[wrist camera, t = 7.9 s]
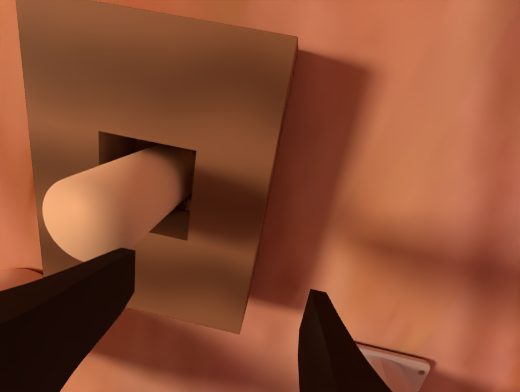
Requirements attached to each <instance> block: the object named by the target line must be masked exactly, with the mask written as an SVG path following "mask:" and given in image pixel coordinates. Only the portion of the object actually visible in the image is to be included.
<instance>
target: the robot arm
mask: <svg viewBox="0 0 520 392" xmlns="http://www.w3.org/2000/svg"><path fill="white" fill-rule="evenodd" d="M135 254H136V251H135V250H131V249H126V248H122V247H121V248H118V249H115V250H113V251H110V252H108V253H105V254H103V255H100V256H98V257H95V258H93V259H90V260H88V261H85V262H83V263H81V264H78V265H76V266H73V267H71V268H68V269H65V270H63V271H60V272H57V273H55V274H52V275H49V276H46V277H44V278H41V279H38V280H35V281H32V282H29V283H26V284H23V285H19V286H16V287H13V288H9V289H6V290H2V291H0V392H60V390H61V389H62V388H63V386H64V385H65V383H66V382H67V380H68V379H69V377H70V376H71V375H72V373H73V372H74V371H75V369H76V368H77V367H78V365H79V364H80V363H81V362H82V360H83V359H84V358H85V357H86V356H87V354H88V353H89V352H90V351H91V350H92V348H93V347H94V346H95V345H96V343H97V342H98V341H99V340H100V339H101V337H102V336H103V335H104V334H105V333H106V331H107V330H108V329H109V328H110V327H111V325H112V324H113V323H114V322H115V320H116V319H117V318H118V317H119V315H120V314H121V313H122V311H123V310H124V308H125V307H126V305H127V304H128V302H129V300H130V299H131V297H132V295H133V294H134V292H135ZM430 368H431V367H430V365H429V362H428V361H426V360H424V359H419V358H415V357H411V356H407V355H402V354H398V353H394V352H389V351H385V350H381V349H377V348H372V347H368V346H364V345H360V344H356V343H355V342H354V340H353V339H352V337H351V335H350V334H349V332H348V330H347V329H346V327H345V326H344V324H343V322H342V320H341V319H340V317H339V315H338V313H337V311H336V310H335V308H334V306H333V304H332V302H331V300H330V298H329V297H328V295H327V293H326V292H322V291H317V290H313V289H310V292H309V296H308V300H307V303H306V307H305V311H304V315H303V318H302V322H301V326H300V329H299V344H298V369H299V388H300V392H419V390H420V388H421V386H422V384H423V382H424V380H425V378H426V376H427V374H428V372H429V370H430ZM420 370H421V371H420Z"/></svg>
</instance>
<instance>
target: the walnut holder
mask: <svg viewBox="0 0 520 392" xmlns="http://www.w3.org/2000/svg"><path fill="white" fill-rule="evenodd" d="M16 9H17V19H18V29H19V39H20V49H21V58H22V68H23V78H24V88H25V98H26V108H27V118H28V128H29V138H30V147H31V157H32V167H33V177H34V187H35V197H36V207H37V217H38V227H39V237H40V246H41V256H42V266H43V276H44V277H46V276H49V275H52V274H55V273H57V272H60V271H63V270H65V269H68V268H71V267H73V266H76V265H78V264H81V263H83V261H80V260H78V259H76V258H74V257H72V256H71V255H69V254H68V253H66V252H65V251H64V250H63V249H61V248H60V247H59V246H58V245H57V243H56V242H55V241H54V240H53V238H52V237H51V235H50V234H49V232H48V230H47V228H46V225H45V222H44V219H43V210H42V207H43V201H44V197H45V195H46V193H47V191H48V190H49V188H50V187H51V186H52V185H53V184H55V183H56V182H58V181H60V180H62V179H64V178H67V177H70V176H73V175H75V174H78V173H81V172H83V171H86V170H89V169H92V168H94V167H97V166H100V165H103V164H105V163H108V162H111V161H114V160H116V159H119V158H122V157H125V156H127V155H130V154H133V153H135V144H136V139H141V140H146V141H151V142H156V143H161V144H166V145H170V146H175V147H180V148H185V149H190V150H195V151H196V159H195V169H194V179H193V189H192V199H191V209H190V211H185V210H181V209H176V208H174V209H173V210H172V211H171V212H170V213H169V214H168V215H166V216H165V217H164V218H163V219H162V220H161V221H160V222H159V223H158V224H157V225H156V226H155V227H153V228H152V229H151V230H150V231H149V232H148V233H147V234H146V235H145V236H144V237H143V238H142V239H141V240H139V241H138V242H137V243H136V244H135V245H134V246H133V247H132V248H131V250H135V251H136V254H135V292H134V294H133V295H132V297H131V299H130V300H129V302H128V304H127V305H126V307H127V308H131V309H135V310H139V311H143V312H148V313H152V314H156V315H160V316H164V317H169V318H173V319H177V320H181V321H185V322H190V323H194V324H198V325H202V326H206V327H211V328H215V329H219V330H223V331H227V332H232V333H236V334H240V331H241V327H242V323H243V319H244V315H245V311H246V307H247V302H248V298H249V294H250V289H251V284H252V279H253V274H254V269H255V264H256V259H257V254H258V249H259V243H260V238H261V233H262V228H263V223H264V218H265V213H266V208H267V203H268V198H269V193H270V188H271V183H272V178H273V173H274V168H275V163H276V158H277V153H278V148H279V143H280V137H281V132H282V127H283V122H284V117H285V112H286V107H287V102H288V97H289V92H290V87H291V82H292V77H293V72H294V67H295V62H296V57H297V52H298V37H296V36H291V35H285V34H279V33H274V32H268V31H262V30H256V29H251V28H245V27H239V26H234V25H228V24H222V23H217V22H211V21H205V20H199V19H194V18H188V17H182V16H177V15H171V14H165V13H160V12H154V11H148V10H143V9H137V8H131V7H125V6H120V5H114V4H108V3H103V2H97V1H91V0H16Z"/></svg>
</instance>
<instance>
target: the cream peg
mask: <svg viewBox="0 0 520 392" xmlns="http://www.w3.org/2000/svg"><path fill="white" fill-rule="evenodd" d="M195 159H196V156H195V155H194V153H193V152H192V151H191V150H190V149H185V148H180V147H175V146H170V145H166V144H161V143H160V144H157V145H155V146H152V147H149V148H146V149H144V150H141V151H138V152H136V153H133V154H130V155H127V156H125V157H122V158H119V159H116V160H114V161H111V162H108V163H105V164H103V165H100V166H97V167H94V168H92V169H89V170H86V171H83V172H81V173H78V174H75V175H73V176H70V177H67V178H64V179H62V180H60V181H58V182H56V183H55V184H53V185H52V186H51V187H50V188H49V190H48V191H47V193H46V195H45V197H44V201H43V207H42V210H43V219H44V222H45V225H46V228H47V230H48V232H49V234H50V235H51V237H52V238H53V240H54V241H55V242H56V243H57V245H58V246H59V247H60V248H61V249H63V250H64V251H65V252H66V253H68V254H69V255H71V256H72V257H74V258H76V259H78V260H80V261H83V262H85V261H88V260H90V259H93V258H95V257H98V256H100V255H103V254H105V253H108V252H110V251H113V250H115V249H118V248H121V247H122V248H126V249H131V248H132V247H133V246H134V245H135V244H136V243H137V242H138V241H139V240H141V239H142V238H143V237H144V236H145V235H146V234H147V233H148V232H149V231H150V230H151V229H152V228H153V227H155V226H156V225H157V224H158V223H159V222H160V221H161V220H162V219H163V218H164V217H165V216H166V215H168V214H169V213H170V212H171V211H172V210H173V209H174V208H175V207H176V206H177V205H178V204H179V203H180V202H182V201H183V200H184V199H185V198H186V197H187V196H188V195H189V194H190V193H191V192H192V189H193V179H194V169H195Z"/></svg>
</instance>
